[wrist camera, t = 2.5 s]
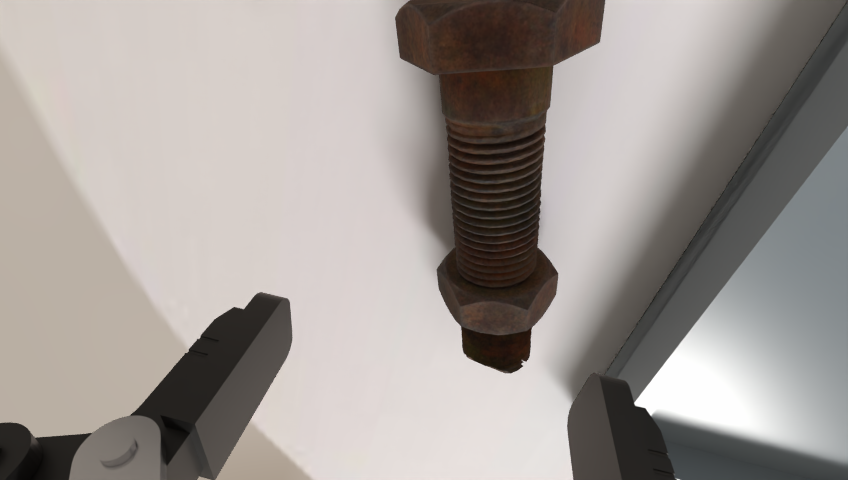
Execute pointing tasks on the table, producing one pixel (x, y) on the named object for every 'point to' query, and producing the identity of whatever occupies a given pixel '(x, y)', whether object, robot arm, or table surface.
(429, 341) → the table surface
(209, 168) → the table surface
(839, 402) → the tray
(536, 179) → the bolt
